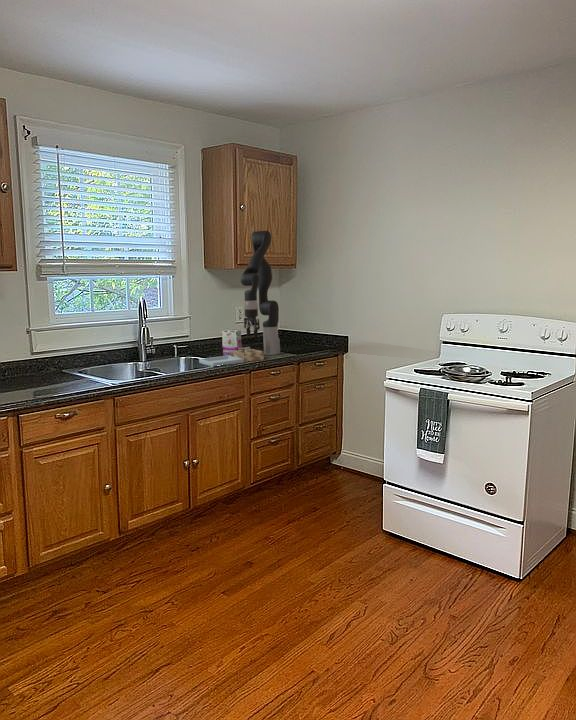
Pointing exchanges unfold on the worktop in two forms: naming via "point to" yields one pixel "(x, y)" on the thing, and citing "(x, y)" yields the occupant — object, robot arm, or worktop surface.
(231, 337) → the candy bar box
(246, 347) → the steel T-stake
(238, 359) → the tray
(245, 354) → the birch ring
